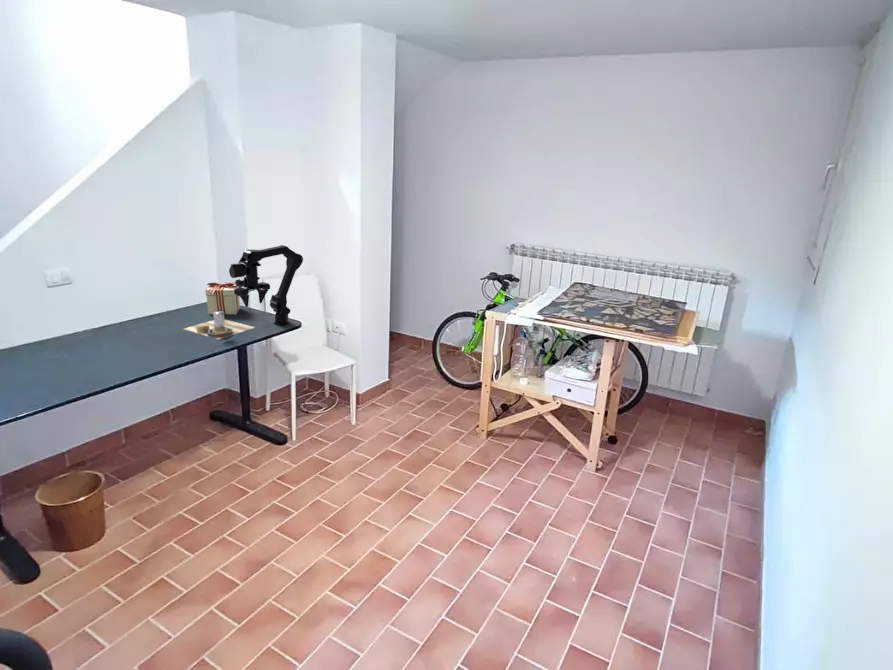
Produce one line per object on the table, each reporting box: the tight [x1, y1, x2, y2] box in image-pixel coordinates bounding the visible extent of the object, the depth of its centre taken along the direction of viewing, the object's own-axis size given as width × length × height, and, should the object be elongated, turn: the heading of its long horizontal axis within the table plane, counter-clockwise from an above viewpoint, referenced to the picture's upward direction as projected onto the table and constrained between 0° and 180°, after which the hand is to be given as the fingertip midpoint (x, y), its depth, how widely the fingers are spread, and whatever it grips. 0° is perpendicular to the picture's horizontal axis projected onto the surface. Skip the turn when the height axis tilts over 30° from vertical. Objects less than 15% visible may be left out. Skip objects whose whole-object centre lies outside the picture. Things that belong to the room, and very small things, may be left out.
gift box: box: [205, 281, 241, 316], centre depth 309 cm, size 17×18×17 cm
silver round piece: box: [212, 311, 228, 334], centre depth 275 cm, size 8×8×11 cm
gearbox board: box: [184, 318, 256, 342], centre depth 284 cm, size 23×26×4 cm
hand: (253, 305), depth 284 cm, fingers open, 9 cm apart
